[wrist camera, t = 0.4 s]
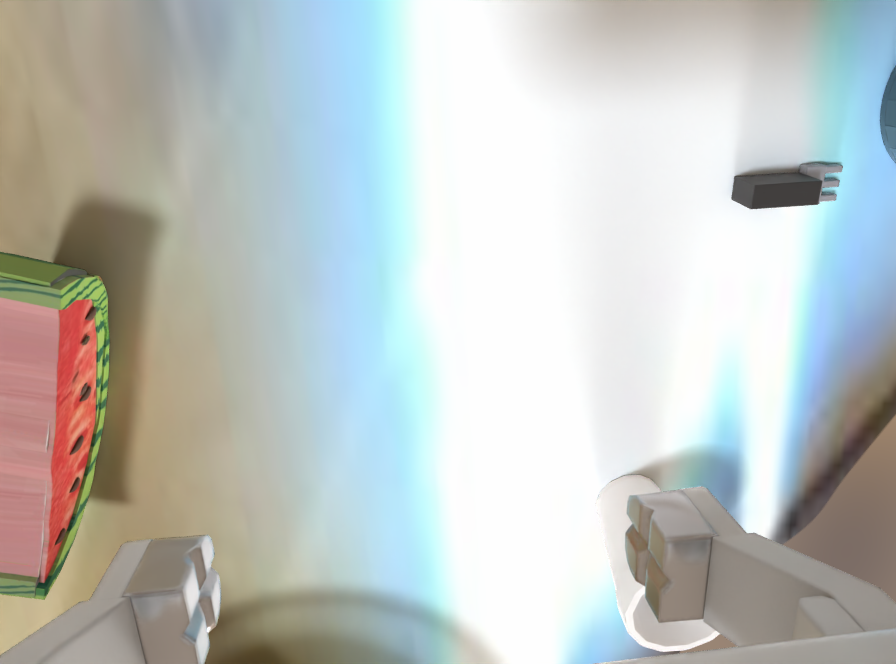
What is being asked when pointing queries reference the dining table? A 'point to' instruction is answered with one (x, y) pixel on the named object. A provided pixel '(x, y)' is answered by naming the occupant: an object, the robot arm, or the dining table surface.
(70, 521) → the fruit slice
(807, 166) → the two-tone pronged bar
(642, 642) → the foam cup
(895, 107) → the blue-grey round hollow container
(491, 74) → the dining table surface
